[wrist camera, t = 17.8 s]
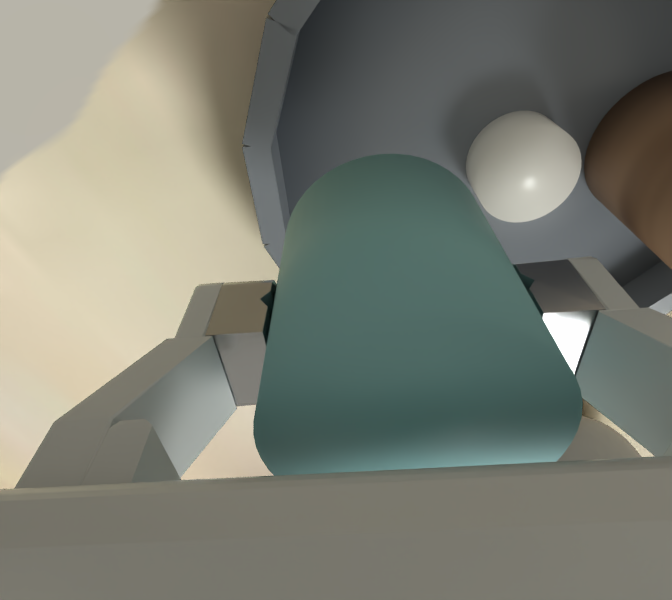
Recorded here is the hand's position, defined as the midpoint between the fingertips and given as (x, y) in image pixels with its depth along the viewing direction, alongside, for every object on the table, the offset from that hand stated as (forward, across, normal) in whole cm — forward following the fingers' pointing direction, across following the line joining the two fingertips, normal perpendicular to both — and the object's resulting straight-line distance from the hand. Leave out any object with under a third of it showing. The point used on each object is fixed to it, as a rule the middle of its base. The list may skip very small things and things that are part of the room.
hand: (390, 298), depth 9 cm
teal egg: (+2, 0, 0) cm, 2 cm away
